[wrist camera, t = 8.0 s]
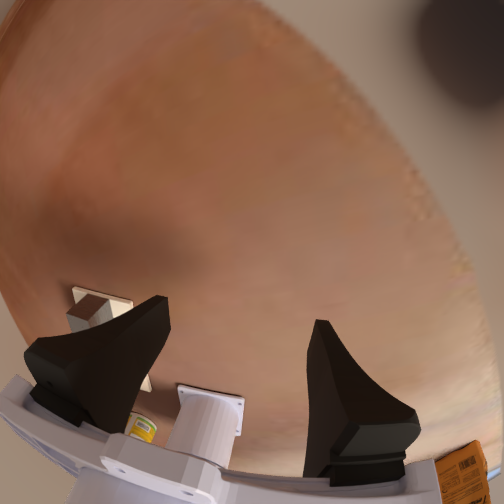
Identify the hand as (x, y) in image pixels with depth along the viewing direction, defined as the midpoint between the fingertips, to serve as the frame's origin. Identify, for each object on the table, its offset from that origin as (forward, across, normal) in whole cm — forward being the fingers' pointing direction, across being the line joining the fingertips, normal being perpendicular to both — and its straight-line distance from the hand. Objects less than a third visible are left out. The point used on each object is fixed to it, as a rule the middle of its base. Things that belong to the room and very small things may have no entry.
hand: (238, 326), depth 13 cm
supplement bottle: (+10, +16, +32) cm, 37 cm away
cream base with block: (+9, +16, +14) cm, 23 cm away
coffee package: (+10, -48, +42) cm, 64 cm away
